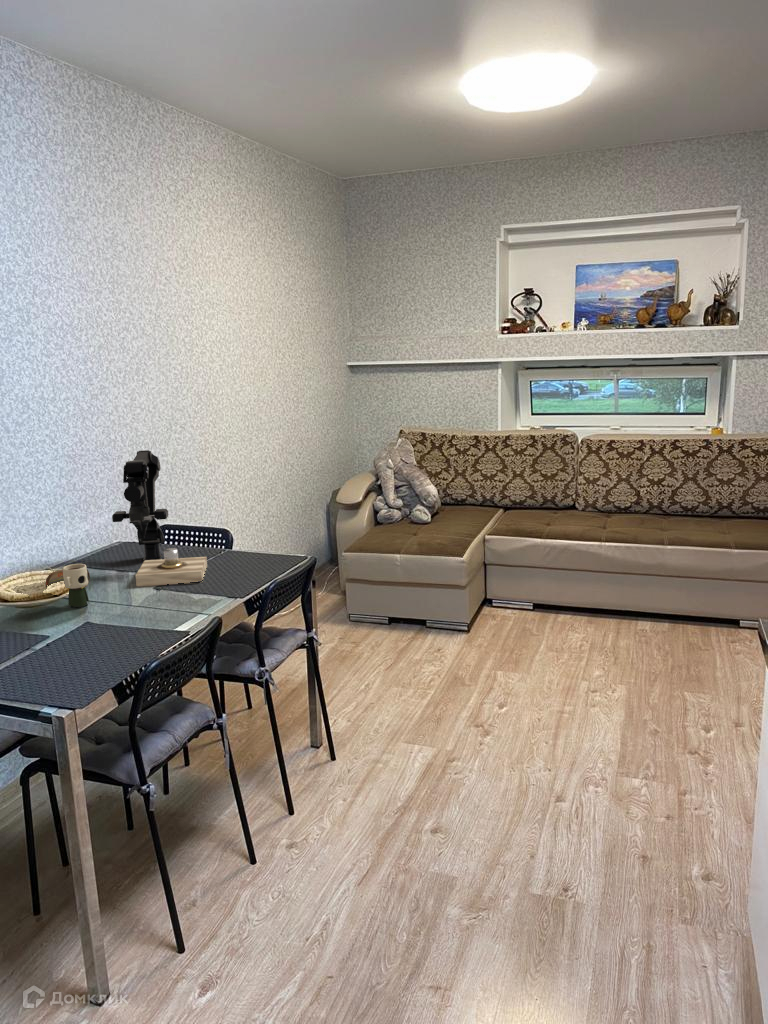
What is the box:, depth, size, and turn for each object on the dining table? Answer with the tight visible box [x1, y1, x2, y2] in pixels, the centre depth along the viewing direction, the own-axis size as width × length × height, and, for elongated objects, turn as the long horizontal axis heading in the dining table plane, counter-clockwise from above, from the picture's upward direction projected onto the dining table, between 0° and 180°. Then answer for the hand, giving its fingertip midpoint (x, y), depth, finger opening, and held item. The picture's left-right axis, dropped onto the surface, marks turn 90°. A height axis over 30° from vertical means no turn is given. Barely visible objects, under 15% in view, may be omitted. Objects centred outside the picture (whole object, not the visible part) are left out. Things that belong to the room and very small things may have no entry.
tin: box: [45, 568, 91, 588], centre depth 263 cm, size 15×3×8 cm, turn 143°
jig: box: [135, 556, 208, 587], centre depth 277 cm, size 18×22×4 cm
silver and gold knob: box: [162, 547, 182, 569], centre depth 276 cm, size 7×7×9 cm
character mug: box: [62, 563, 90, 608], centre depth 249 cm, size 11×7×13 cm, turn 173°
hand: (142, 538), depth 283 cm, fingers closed
